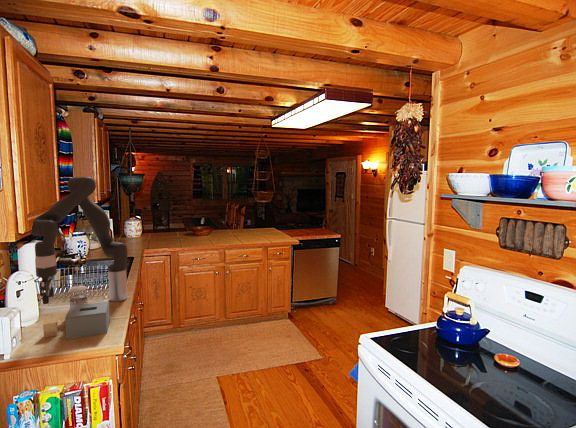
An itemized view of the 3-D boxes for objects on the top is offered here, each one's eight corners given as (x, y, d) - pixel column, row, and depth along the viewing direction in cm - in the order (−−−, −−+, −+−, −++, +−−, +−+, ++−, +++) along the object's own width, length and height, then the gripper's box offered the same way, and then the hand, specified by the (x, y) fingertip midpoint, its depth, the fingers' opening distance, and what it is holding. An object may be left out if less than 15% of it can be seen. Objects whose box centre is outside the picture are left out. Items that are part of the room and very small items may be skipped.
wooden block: (45, 335, 156) (44, 322, 155) (58, 333, 158) (57, 321, 157) (43, 337, 154) (42, 324, 153) (57, 335, 156) (56, 323, 155)
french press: (91, 309, 184) (89, 264, 181) (88, 318, 174) (85, 270, 171) (70, 312, 181) (67, 265, 177) (65, 321, 170) (62, 272, 167)
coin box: (72, 325, 166) (71, 305, 165) (109, 320, 172) (108, 301, 171) (66, 338, 153) (65, 317, 152) (107, 333, 159) (105, 312, 158)
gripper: (40, 261, 157) (42, 295, 159) (30, 270, 144) (33, 307, 146) (59, 260, 160) (61, 293, 162) (52, 268, 147) (54, 305, 149)
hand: (48, 300), depth 154 cm, fingers open, 8 cm apart
